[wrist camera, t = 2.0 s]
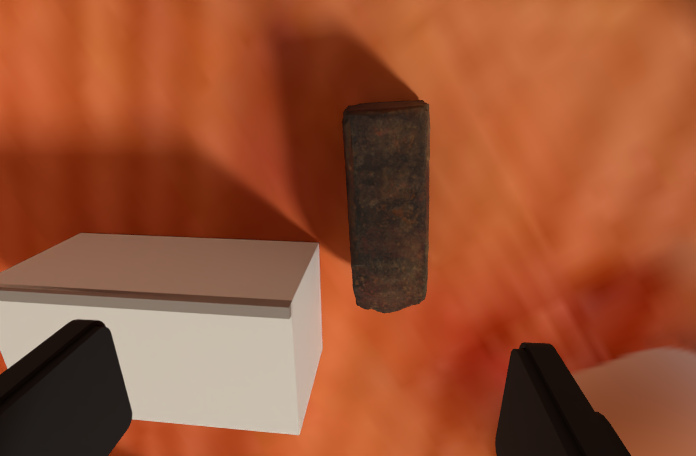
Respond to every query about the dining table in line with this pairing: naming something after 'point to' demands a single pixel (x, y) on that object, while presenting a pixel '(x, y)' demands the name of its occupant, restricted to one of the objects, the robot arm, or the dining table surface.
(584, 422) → the robot arm
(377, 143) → the brick
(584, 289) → the dining table surface
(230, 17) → the dining table surface
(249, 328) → the step
